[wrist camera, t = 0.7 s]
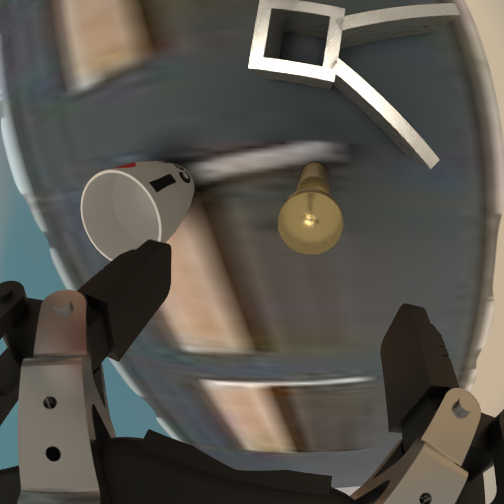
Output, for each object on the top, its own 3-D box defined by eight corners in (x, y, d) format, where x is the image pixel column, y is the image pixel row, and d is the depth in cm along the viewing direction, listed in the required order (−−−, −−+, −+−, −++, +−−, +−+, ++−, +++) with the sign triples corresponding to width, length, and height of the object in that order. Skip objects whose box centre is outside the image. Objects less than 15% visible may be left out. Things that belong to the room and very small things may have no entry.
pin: (300, 153, 26) (284, 186, 15) (336, 161, 26) (350, 202, 14) (293, 187, 28) (272, 246, 16) (328, 195, 27) (333, 260, 16)
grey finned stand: (280, -11, 19) (268, -44, 13) (431, 26, 17) (460, 6, 11) (259, 119, 25) (239, 121, 19) (409, 156, 24) (436, 171, 17)
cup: (218, 164, 28) (171, 190, 19) (196, 233, 32) (152, 282, 23) (149, 139, 28) (85, 157, 20) (135, 207, 32) (78, 243, 24)
